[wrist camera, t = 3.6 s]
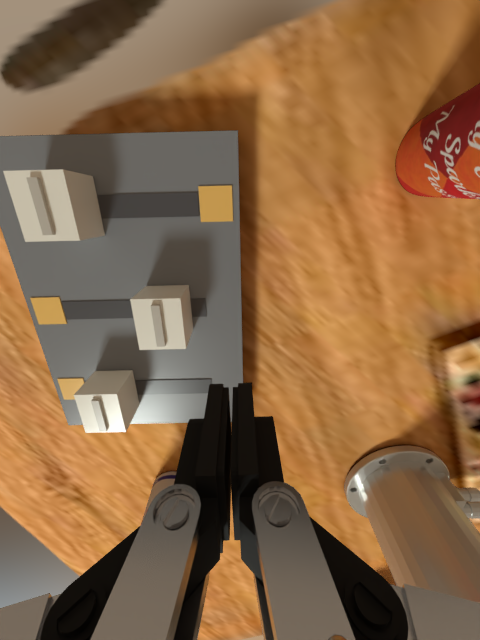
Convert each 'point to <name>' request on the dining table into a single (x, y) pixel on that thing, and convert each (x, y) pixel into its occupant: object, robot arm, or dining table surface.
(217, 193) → the console
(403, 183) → the paper cup
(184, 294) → the switch
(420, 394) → the dining table surface
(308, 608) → the robot arm
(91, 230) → the switch
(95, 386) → the switch
